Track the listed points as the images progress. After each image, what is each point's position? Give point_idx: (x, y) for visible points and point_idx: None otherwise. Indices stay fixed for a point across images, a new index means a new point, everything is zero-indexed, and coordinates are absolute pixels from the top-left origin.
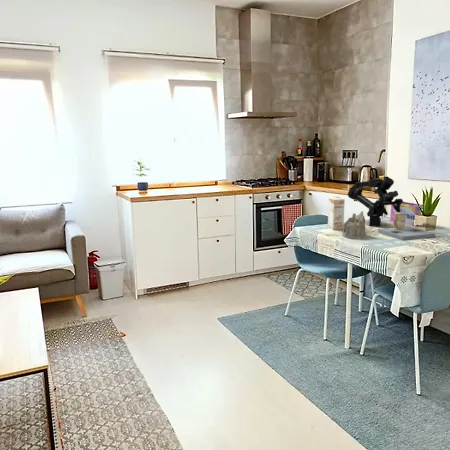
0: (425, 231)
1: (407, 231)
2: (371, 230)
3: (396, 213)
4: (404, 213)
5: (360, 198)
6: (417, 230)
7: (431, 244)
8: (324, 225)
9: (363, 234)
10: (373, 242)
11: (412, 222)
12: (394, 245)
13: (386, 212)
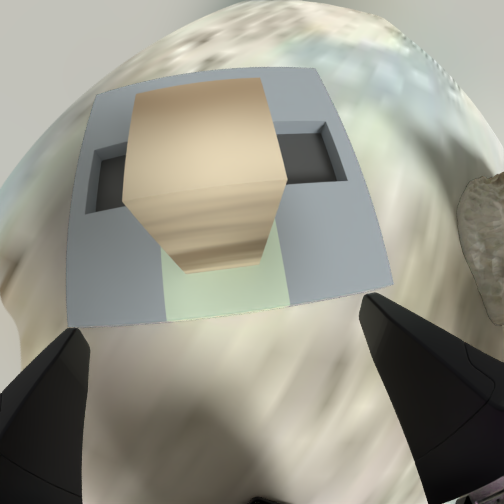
0: (95, 134)
1: None
2: None
3: (274, 129)
4: (156, 91)
5: None
6: (89, 201)
7: (231, 28)
8: None
9: (476, 181)
10: (434, 104)
11: None
12: (372, 53)
13: (402, 308)
